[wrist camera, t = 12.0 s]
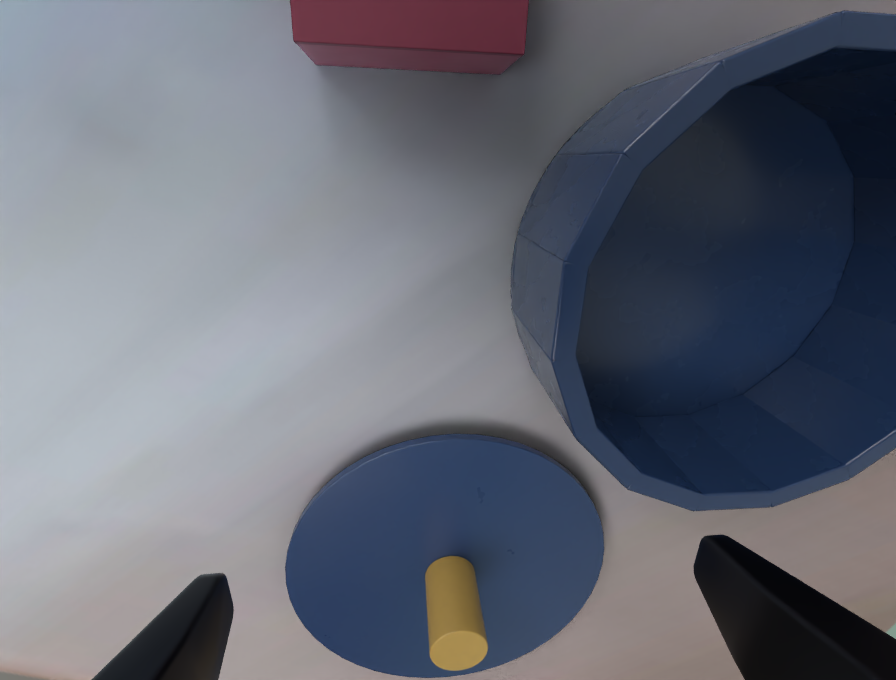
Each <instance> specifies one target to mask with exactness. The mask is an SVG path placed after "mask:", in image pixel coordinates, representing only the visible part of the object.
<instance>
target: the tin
mask: <svg viewBox="0 0 896 680" xmlns="http://www.w3.org/2000/svg"><path fill="white" fill-rule="evenodd" d="M511 298H512V303H511V307H512V308H511V310H512V313H513V316H514V319H515V323H516V327H517V330H518V334H519V337H520V339H521V342H522V344H523V346H524V349H525V351H526V354H527V357H528V360H529V363H530V366H531V368H532V370H533V372H534V373H535V375H536V376H537V378H538V380H539V381H540V383H541V384H542V386H543V388H544V389H545V391H546V392H547V394H548V395H549V397H550V399H551V400H552V402H553V403H554V405H555V407H556V408H557V410H558V411H559V413H560V415H561V416H562V418H563V419H564V421H565V423H566V424H567V426H568V427H569V429H570V430H571V432H572V434H573V435H574V437H575V438H576V440H577V441H578V442H579V443H580V444H581V445H582V446H583V447H584V448H585V449H586V450H587V451H588V452H590V453H591V454H592V455H593V456H594V457H595V458H596V459H597V460H598V461H599V462H600V463H601V464H602V465H603V466H604V467H605V468H606V469H607V470H608V471H609V472H610V473H611V474H612V475H613V476H614V477H615V478H616V479H617V480H618V481H619V482H620V483H621V484H622V485H623V486H624V487H626V488H627V489H628V490H631V491H634V492H637V493H640V494H643V495H646V496H649V497H652V498H655V499H658V500H661V501H664V502H667V503H670V504H673V505H676V506H679V507H682V508H685V509H688V510H691V511H706V510H726V509H746V508H766V507H774V506H777V505H780V504H783V503H785V502H788V501H791V500H794V499H797V498H799V497H802V496H805V495H808V494H811V493H813V492H816V491H819V490H822V489H825V488H827V487H830V486H833V485H836V484H839V483H841V482H844V481H847V480H849V479H850V478H852V477H854V476H855V475H857V474H858V473H860V472H861V471H863V470H864V469H866V468H867V467H869V466H870V465H872V464H873V463H875V462H876V461H878V460H879V459H881V458H882V457H883V456H885V455H886V454H888V453H889V452H891V451H892V450H894V449H895V448H896V14H885V13H872V12H858V11H845V10H844V11H841V12H835V13H832V14H829V15H826V16H823V17H821V18H818V19H815V20H812V21H809V22H806V23H803V24H800V25H797V26H794V27H791V28H788V29H785V30H783V31H780V32H777V33H774V34H771V35H768V36H765V37H762V38H759V39H756V40H753V41H750V42H747V43H744V44H742V45H739V46H736V47H733V48H730V49H727V50H724V51H721V52H718V53H715V54H712V55H709V56H706V57H703V58H701V59H698V60H696V61H694V62H691V63H689V64H686V65H684V66H681V67H679V68H676V69H674V70H672V71H669V72H667V73H664V74H662V75H659V76H656V77H653V78H651V79H649V80H647V81H645V82H642V83H640V84H638V85H635V86H633V87H630V88H628V89H625V90H624V91H623V92H621V93H619V94H618V95H617V96H616V97H615V98H614V99H613V100H612V101H611V102H610V103H608V104H606V105H605V106H604V107H603V108H601V109H600V110H599V111H598V112H597V113H596V114H594V115H593V116H592V117H591V118H590V119H589V120H587V121H586V122H585V123H584V124H583V125H582V126H581V127H580V128H579V129H578V130H577V131H576V132H575V133H574V135H573V136H572V137H571V138H570V139H569V140H568V141H567V142H566V143H565V144H564V145H563V147H562V148H561V149H560V151H559V152H558V153H557V155H556V156H555V157H554V159H553V160H552V162H551V163H550V165H549V166H548V167H547V169H546V170H545V172H544V174H543V176H542V177H541V179H540V181H539V183H538V185H537V186H536V188H535V190H534V192H533V193H532V196H531V198H530V201H529V203H528V205H527V208H526V210H525V213H524V215H523V217H522V220H521V224H520V227H519V230H518V235H517V238H516V242H515V247H514V253H513V260H512V267H511Z"/></svg>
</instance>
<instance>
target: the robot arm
mask: <svg viewBox="0 0 896 680" xmlns="http://www.w3.org/2000/svg"><path fill="white" fill-rule="evenodd" d="M694 575H695V578H696V581H697V583H698V585H699V587H700V589H701V592H702V594H703V596H704V598H705V600H706V602H707V604H708V606H709V608H710V611H711V613H712V615H713V617H714V619H715V621H716V623H717V625H718V627H719V630H720V632H721V634H722V636H723V638H724V640H725V642H726V644H727V647H728V649H729V651H730V653H731V655H732V657H733V659H734V661H735V663H736V664H737V666H738V668H739V670H740V672H741V674H742V675H743V677H744V679H745V680H896V639H894V638H893V637H891V636H890V635H888V634H887V633H885V632H883V631H882V630H880V629H878V628H877V627H875V626H873V625H872V624H870V623H869V622H867V621H865V620H864V619H862V618H860V617H859V616H857V615H856V614H854V613H852V612H851V611H849V610H847V609H846V608H844V607H842V606H841V605H839V604H838V603H836V602H834V601H833V600H831V599H829V598H828V597H826V596H825V595H823V594H821V593H820V592H818V591H816V590H815V589H813V588H811V587H810V586H808V585H807V584H805V583H803V582H802V581H800V580H798V579H797V578H795V577H794V576H792V575H790V574H789V573H787V572H785V571H784V570H782V569H780V568H779V567H777V566H776V565H774V564H772V563H771V562H769V561H767V560H766V559H764V558H763V557H761V556H759V555H758V554H756V553H754V552H753V551H751V550H749V549H748V548H746V547H745V546H743V545H741V544H740V543H738V542H736V541H735V540H733V539H732V538H730V537H728V536H725V535H710V536H704V537H703V538H702V539H701V542H700V545H699V549H698V552H697V556H696V559H695V563H694ZM232 619H233V602H232V598H231V594H230V589H229V585H228V581H227V578H226V576H225V575H224V574H223V573H215V574H203V575H200V576H199V577H197V578H196V579H195V580H193V581H192V582H191V583H190V584H189V585H188V586H187V587H186V588H185V589H184V590H183V591H182V592H181V593H180V594H179V595H178V596H177V597H176V598H175V599H174V600H173V601H172V602H171V603H170V604H169V605H168V606H167V607H166V608H165V609H164V610H163V611H162V612H161V613H160V614H159V615H158V616H156V617H155V618H154V619H153V620H152V621H151V622H150V623H149V624H148V625H147V626H146V627H145V628H144V629H143V630H142V631H141V632H140V633H139V634H138V635H137V636H136V637H135V638H134V639H133V640H132V641H131V642H130V643H129V644H128V645H127V646H126V647H125V648H124V649H123V650H122V651H121V652H120V653H118V654H117V655H116V656H115V657H114V658H113V659H112V660H111V661H110V662H109V663H108V664H107V665H106V666H105V667H104V668H103V669H102V670H101V671H100V672H99V673H98V674H97V675H96V676H95V677H94V678H93V679H92V680H218V678H219V674H220V670H221V666H222V661H223V657H224V653H225V649H226V645H227V640H228V636H229V632H230V628H231V624H232Z"/></svg>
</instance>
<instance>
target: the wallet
mask: <svg viewBox="0 0 896 680" xmlns="http://www.w3.org/2000/svg"><path fill="white" fill-rule="evenodd" d="M528 4H529V0H290V5H291V17H292V29H293V40H294V42H295V43H296V44H297V45H298V46H299V47H300V48H301V49H302V50H303V51H304V52H305V53H306V55H307V56H308V57H309V58H310V59H311V60H312V61H313V62H314V64H316V65H326V66H344V67H363V68H382V69H401V70H420V71H439V72H458V73H477V74H496V75H500V74H501V73H503V72H504V71H505V70H506V69H507V68H508V67H509V66H511V65H512V64H513V63H514V62H515V61H516V60H518V59H519V58H520V57H522V56H523V55H524V54H525V42H526V29H527V17H528Z"/></svg>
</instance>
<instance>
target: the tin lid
mask: <svg viewBox="0 0 896 680" xmlns="http://www.w3.org/2000/svg"><path fill="white" fill-rule="evenodd" d="M603 554H604V537H603V530H602V525H601V521H600V517H599V515H598V513H597V510H596V508H595V505H594V503H593V501H592V500H591V498H590V496H589V495H588V493H587V492H586V490H585V489H584V487H583V486H582V484H581V483H580V482H579V481H578V480H577V479H576V478H575V477H574V476H573V474H572V473H571V472H570V471H568V470H567V469H566V468H565V467H563V466H562V465H561V464H560V463H558V462H557V461H556V460H554V459H552V458H551V457H549V456H547V455H545V454H544V453H542V452H540V451H538V450H536V449H533V448H531V447H529V446H526V445H524V444H521V443H518V442H514V441H511V440H507V439H503V438H499V437H493V436H486V435H478V434H445V435H434V436H427V437H422V438H417V439H412V440H407V441H404V442H401V443H398V444H395V445H392V446H389V447H386V448H383V449H381V450H379V451H377V452H374V453H372V454H370V455H368V456H365V457H364V458H362V459H360V460H359V461H357V462H355V463H354V464H352V465H350V466H349V467H347V468H345V469H344V470H343V471H342V472H340V473H339V474H338V475H336V476H335V477H334V478H333V479H331V480H330V481H329V482H328V483H327V484H326V485H325V486H324V487H323V488H322V489H321V490H320V491H319V492H318V493H317V494H316V495H315V496H314V497H313V499H312V500H311V502H310V503H309V504H308V506H307V507H306V508H305V510H304V511H303V513H302V515H301V517H300V519H299V521H298V522H297V524H296V526H295V528H294V532H293V535H292V538H291V541H290V544H289V548H288V551H287V559H286V566H285V570H286V585H287V589H288V593H289V597H290V601H291V603H292V605H293V607H294V610H295V612H296V614H297V616H298V617H299V619H300V620H301V622H302V623H303V625H304V626H305V627H306V629H307V630H308V631H309V632H310V633H311V634H312V635H313V636H314V637H315V638H316V639H317V640H318V641H319V642H320V643H322V644H323V645H324V646H325V647H326V648H328V649H329V650H331V651H332V652H334V653H336V654H337V655H339V656H340V657H342V658H344V659H346V660H348V661H350V662H352V663H355V664H357V665H359V666H362V667H365V668H368V669H371V670H374V671H378V672H382V673H386V674H391V675H398V676H405V677H420V678H435V677H450V676H458V675H465V674H470V673H474V672H479V671H483V670H486V669H490V668H493V667H496V666H499V665H502V664H504V663H507V662H509V661H512V660H514V659H517V658H519V657H521V656H523V655H524V654H526V653H528V652H530V651H532V650H534V649H535V648H537V647H539V646H540V645H542V644H543V643H545V642H547V641H548V640H549V639H550V638H552V637H553V636H554V635H556V634H557V633H558V632H559V631H561V630H562V629H563V628H564V627H565V626H566V625H567V624H568V623H569V622H570V621H571V620H572V619H573V618H574V617H575V615H576V614H577V613H578V612H579V611H580V609H581V608H582V607H583V605H584V604H585V602H586V601H587V599H588V598H589V596H590V594H591V593H592V591H593V588H594V586H595V584H596V582H597V580H598V577H599V573H600V570H601V567H602V562H603Z"/></svg>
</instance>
